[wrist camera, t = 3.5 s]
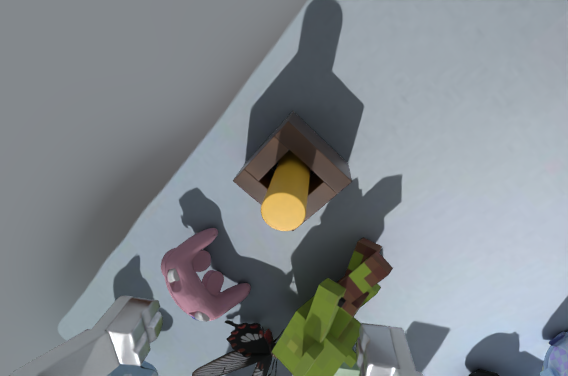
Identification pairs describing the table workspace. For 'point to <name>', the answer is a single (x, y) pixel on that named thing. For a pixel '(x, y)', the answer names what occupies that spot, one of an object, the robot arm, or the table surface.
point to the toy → (332, 317)
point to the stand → (310, 150)
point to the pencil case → (556, 357)
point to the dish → (348, 370)
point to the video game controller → (188, 287)
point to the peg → (287, 194)
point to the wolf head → (134, 370)
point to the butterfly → (244, 352)
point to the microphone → (483, 373)
